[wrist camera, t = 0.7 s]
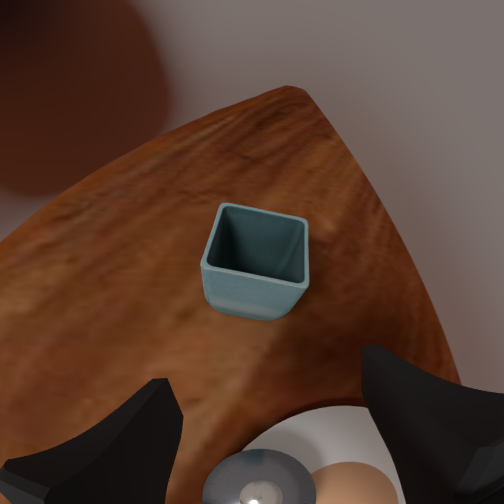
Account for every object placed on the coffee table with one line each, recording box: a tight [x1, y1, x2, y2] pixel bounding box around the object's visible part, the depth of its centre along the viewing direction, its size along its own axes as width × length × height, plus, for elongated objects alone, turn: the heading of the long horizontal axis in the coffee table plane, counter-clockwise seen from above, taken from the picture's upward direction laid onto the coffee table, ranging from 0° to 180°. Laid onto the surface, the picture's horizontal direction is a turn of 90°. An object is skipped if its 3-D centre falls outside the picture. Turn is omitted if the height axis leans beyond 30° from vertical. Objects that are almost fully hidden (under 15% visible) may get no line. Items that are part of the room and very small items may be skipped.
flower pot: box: [201, 203, 309, 321], centre depth 30 cm, size 9×9×9 cm
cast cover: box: [203, 449, 316, 504], centre depth 16 cm, size 8×8×3 cm
